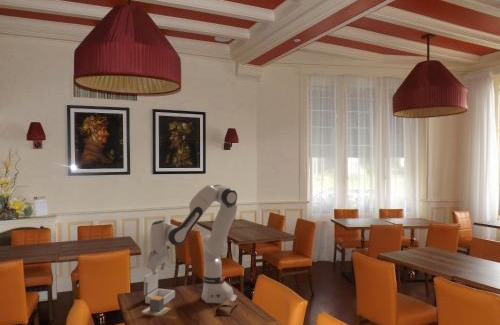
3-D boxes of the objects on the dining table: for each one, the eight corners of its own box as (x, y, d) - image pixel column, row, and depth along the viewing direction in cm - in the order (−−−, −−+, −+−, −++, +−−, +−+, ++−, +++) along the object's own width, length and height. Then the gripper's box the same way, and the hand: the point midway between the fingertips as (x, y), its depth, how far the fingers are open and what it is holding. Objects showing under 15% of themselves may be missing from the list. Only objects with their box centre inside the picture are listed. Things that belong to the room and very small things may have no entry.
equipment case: (174, 298, 245) (175, 271, 245) (163, 307, 231) (163, 278, 231) (156, 296, 249) (156, 269, 249) (143, 304, 234) (144, 276, 234)
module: (163, 308, 225) (163, 296, 225) (159, 312, 221) (159, 299, 221) (154, 307, 227) (154, 295, 227) (149, 310, 222) (149, 298, 222)
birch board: (171, 309, 227) (171, 308, 227) (163, 316, 217) (163, 314, 217) (150, 307, 231) (150, 305, 231) (141, 313, 221) (141, 311, 221)
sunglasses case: (229, 315, 219) (224, 304, 219) (219, 320, 220) (214, 309, 221) (238, 303, 236) (233, 293, 237) (228, 308, 238) (223, 298, 238)
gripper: (154, 253, 216) (154, 278, 216) (171, 245, 235) (171, 268, 236) (144, 252, 217) (144, 277, 218) (161, 244, 237) (162, 267, 237)
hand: (158, 272), depth 227 cm, fingers open, 8 cm apart
